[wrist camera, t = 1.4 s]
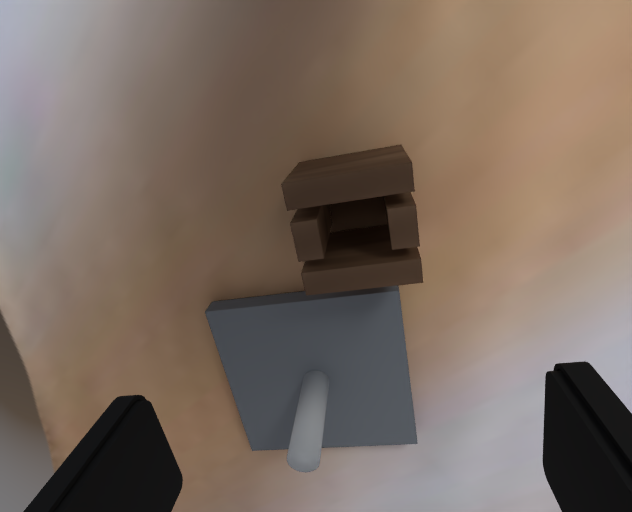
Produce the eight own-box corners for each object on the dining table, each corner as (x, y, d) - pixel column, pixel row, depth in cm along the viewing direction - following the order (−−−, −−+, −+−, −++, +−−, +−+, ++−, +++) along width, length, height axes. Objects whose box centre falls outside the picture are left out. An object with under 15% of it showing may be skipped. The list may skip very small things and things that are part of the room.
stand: (212, 301, 30) (159, 376, 22) (397, 280, 28) (410, 356, 20) (256, 436, 35) (225, 535, 28) (415, 428, 33) (431, 535, 25)
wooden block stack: (299, 162, 25) (281, 183, 20) (401, 144, 24) (412, 162, 18) (317, 253, 27) (306, 295, 22) (410, 241, 26) (423, 282, 21)
